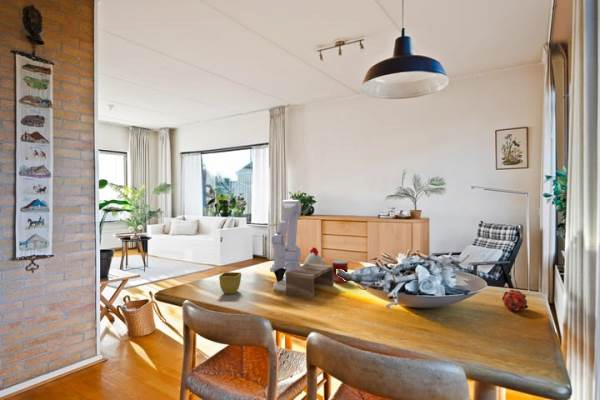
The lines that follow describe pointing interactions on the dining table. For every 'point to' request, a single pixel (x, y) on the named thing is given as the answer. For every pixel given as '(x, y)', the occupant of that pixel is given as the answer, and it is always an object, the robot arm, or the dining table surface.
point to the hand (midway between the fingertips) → (279, 282)
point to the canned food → (339, 265)
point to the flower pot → (230, 282)
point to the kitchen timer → (314, 258)
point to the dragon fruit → (514, 300)
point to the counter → (308, 279)
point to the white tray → (280, 286)
